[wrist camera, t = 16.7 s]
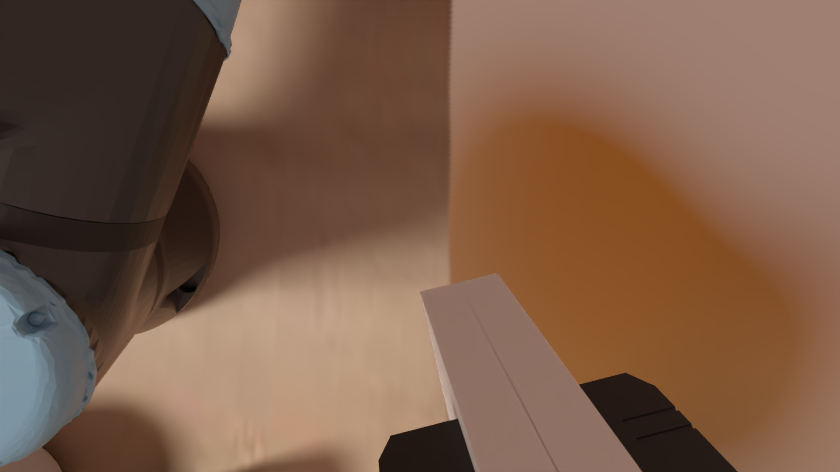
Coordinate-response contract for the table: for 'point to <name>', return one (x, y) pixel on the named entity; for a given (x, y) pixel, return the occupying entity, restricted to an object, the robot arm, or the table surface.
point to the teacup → (33, 463)
